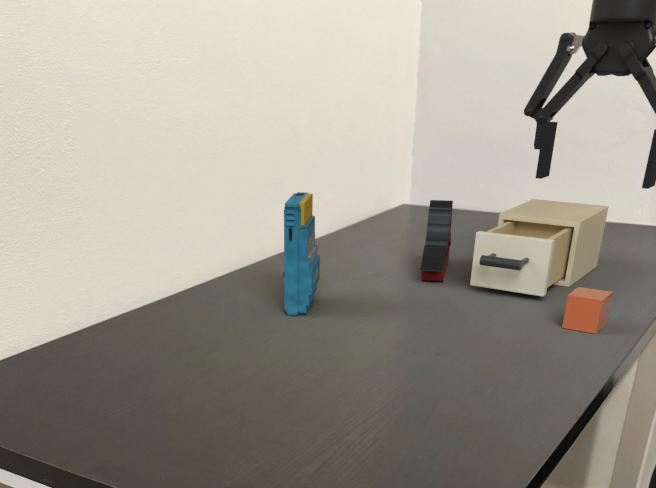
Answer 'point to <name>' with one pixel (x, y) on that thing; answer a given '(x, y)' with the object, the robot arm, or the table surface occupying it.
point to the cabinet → (575, 215)
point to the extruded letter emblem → (437, 241)
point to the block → (586, 310)
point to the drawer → (521, 257)
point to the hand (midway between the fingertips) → (593, 182)
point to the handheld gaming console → (300, 254)
